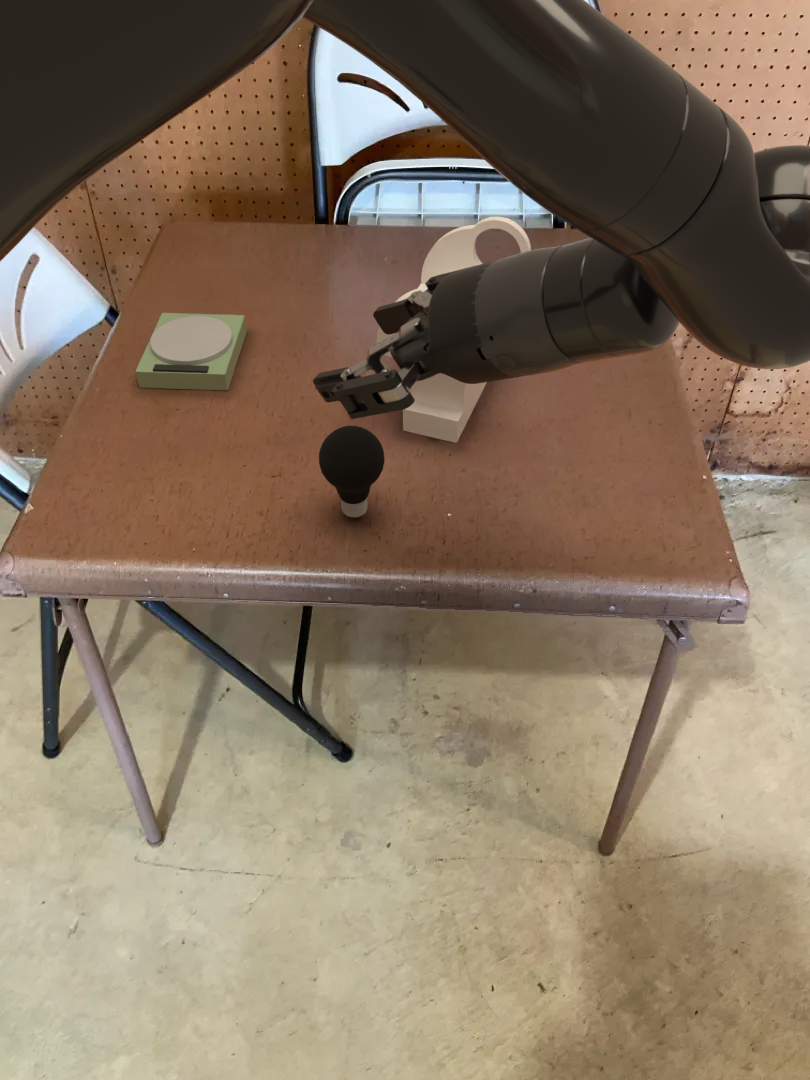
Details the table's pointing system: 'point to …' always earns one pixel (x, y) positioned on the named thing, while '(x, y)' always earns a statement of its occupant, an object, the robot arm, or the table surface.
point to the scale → (192, 352)
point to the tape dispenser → (441, 397)
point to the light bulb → (352, 465)
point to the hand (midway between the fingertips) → (351, 354)
